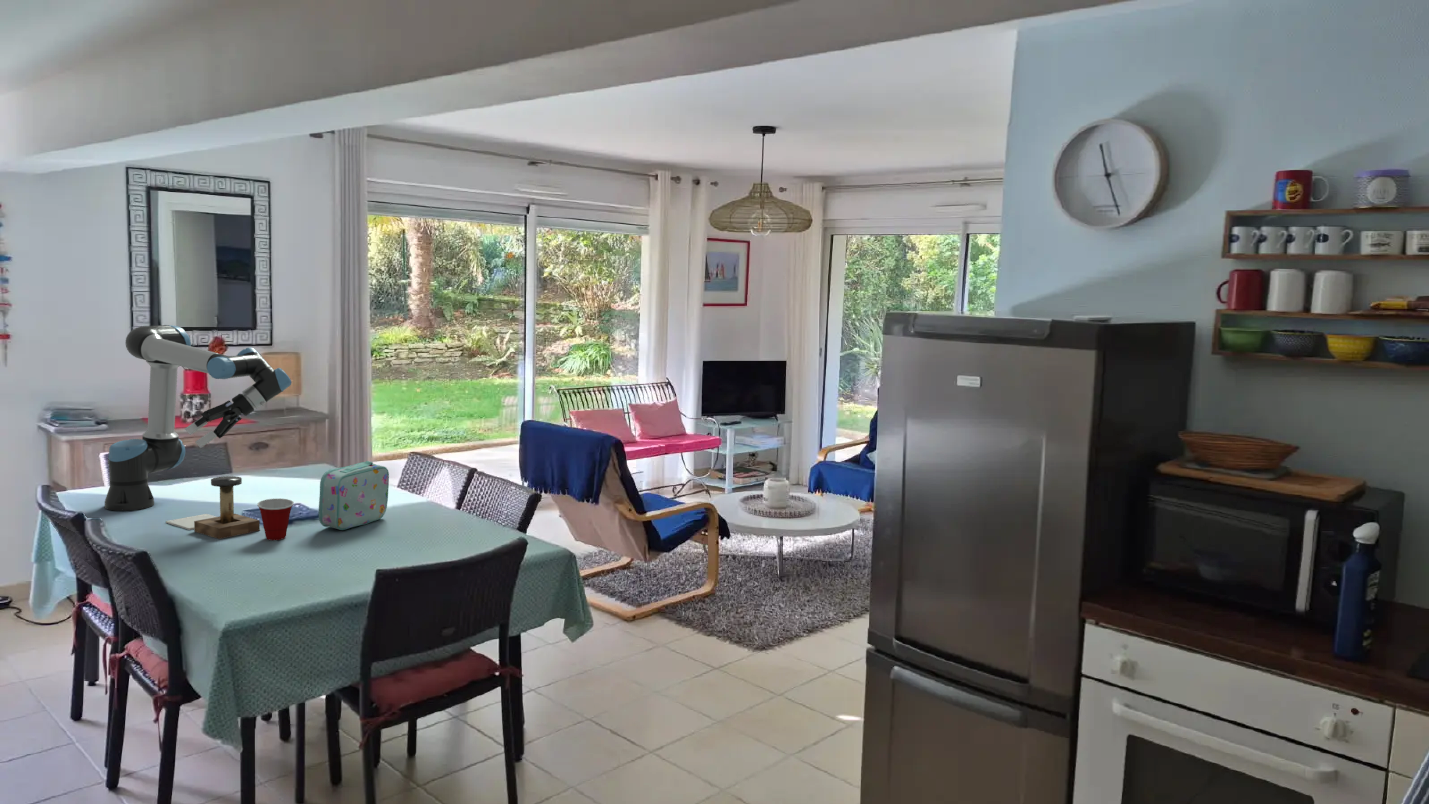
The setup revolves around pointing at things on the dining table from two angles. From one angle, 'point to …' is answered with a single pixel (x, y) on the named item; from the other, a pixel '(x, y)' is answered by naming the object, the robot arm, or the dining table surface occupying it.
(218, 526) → the eye block
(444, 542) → the dining table surface
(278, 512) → the plastic cup
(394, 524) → the dining table surface
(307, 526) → the dining table surface
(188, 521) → the pad
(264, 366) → the robot arm
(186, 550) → the dining table surface
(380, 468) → the lunch box
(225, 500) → the mushroom top post
